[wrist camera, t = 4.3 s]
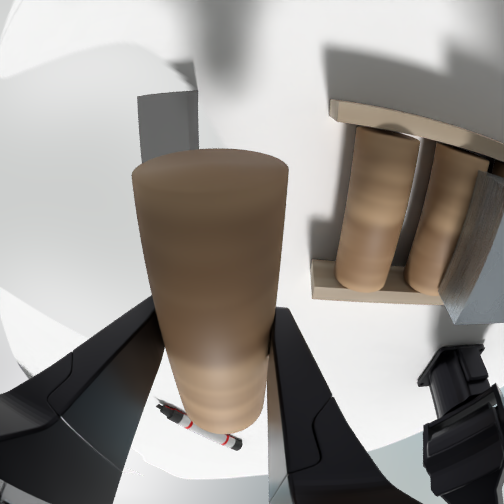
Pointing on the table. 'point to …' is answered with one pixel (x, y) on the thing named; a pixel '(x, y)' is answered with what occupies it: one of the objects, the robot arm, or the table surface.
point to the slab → (478, 258)
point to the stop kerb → (168, 123)
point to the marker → (188, 424)
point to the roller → (214, 274)
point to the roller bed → (400, 206)
